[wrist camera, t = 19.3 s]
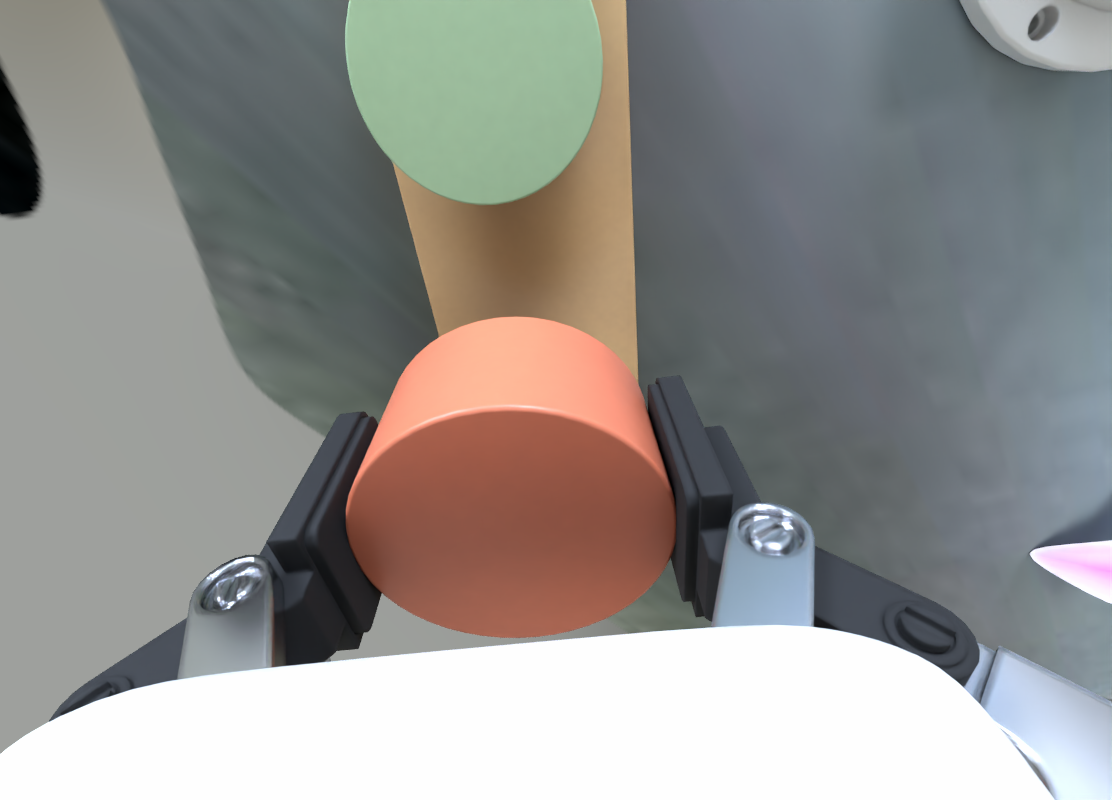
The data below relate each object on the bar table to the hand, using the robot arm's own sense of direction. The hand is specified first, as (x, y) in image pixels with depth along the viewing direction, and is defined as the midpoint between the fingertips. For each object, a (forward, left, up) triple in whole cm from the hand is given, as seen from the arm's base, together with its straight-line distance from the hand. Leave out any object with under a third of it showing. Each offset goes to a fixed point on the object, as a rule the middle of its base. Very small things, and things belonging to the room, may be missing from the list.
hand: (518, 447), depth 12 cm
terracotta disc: (0, 0, -1) cm, 1 cm away
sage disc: (0, -8, -9) cm, 12 cm away
